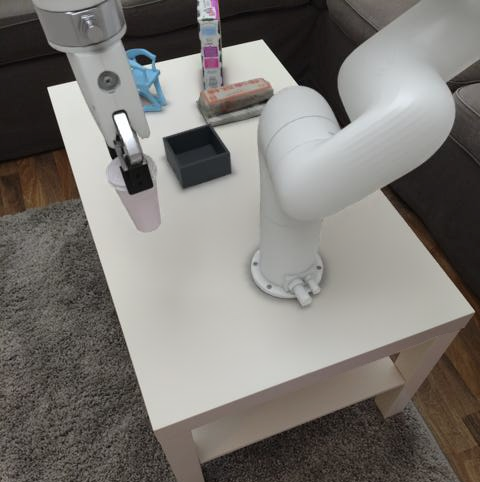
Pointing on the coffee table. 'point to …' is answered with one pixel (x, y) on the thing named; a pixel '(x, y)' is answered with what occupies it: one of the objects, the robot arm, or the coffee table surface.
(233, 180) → the coffee table surface
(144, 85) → the chair
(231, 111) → the packaged product
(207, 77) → the candy bar box
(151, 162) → the smoothie
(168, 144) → the box
